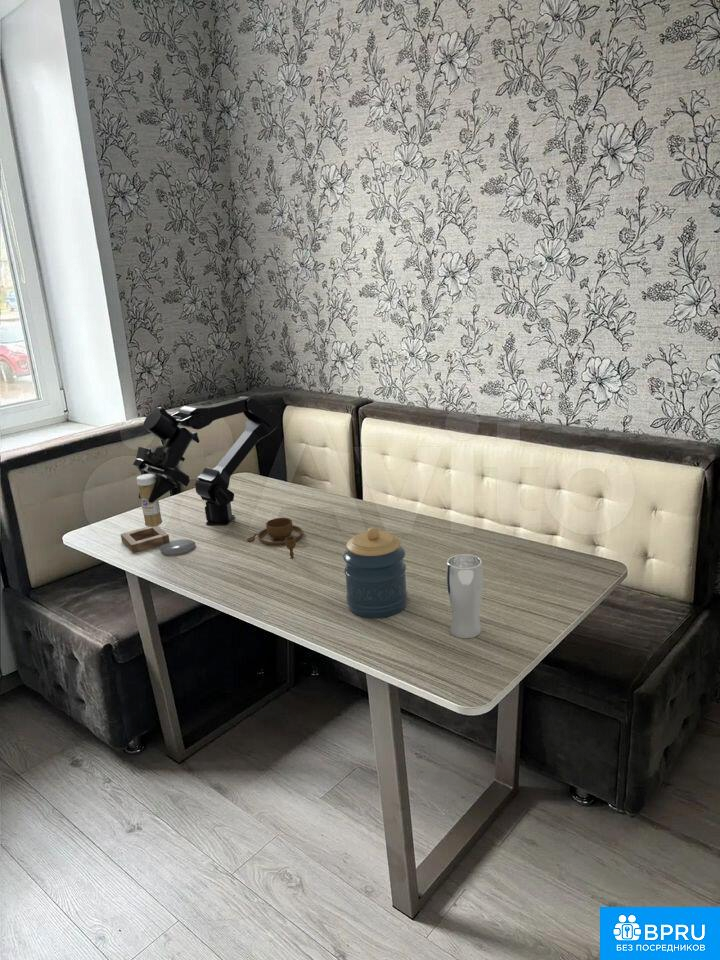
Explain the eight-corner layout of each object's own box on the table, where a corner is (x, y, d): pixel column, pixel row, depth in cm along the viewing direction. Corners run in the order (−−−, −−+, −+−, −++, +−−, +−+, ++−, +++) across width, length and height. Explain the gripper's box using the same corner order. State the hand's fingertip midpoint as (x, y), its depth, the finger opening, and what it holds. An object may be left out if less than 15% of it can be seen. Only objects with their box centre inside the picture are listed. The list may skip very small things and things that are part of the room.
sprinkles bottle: (142, 527, 192) (133, 479, 188) (149, 520, 196) (140, 473, 192) (159, 527, 191) (150, 478, 187) (165, 520, 196) (157, 472, 191)
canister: (372, 585, 166) (367, 512, 160) (419, 599, 158) (416, 523, 152) (334, 608, 156) (328, 532, 151) (382, 625, 148) (377, 545, 143)
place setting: (319, 531, 200) (317, 511, 198) (298, 562, 181) (296, 540, 179) (258, 530, 203) (255, 510, 201) (231, 560, 185) (228, 539, 183)
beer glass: (480, 620, 148) (479, 552, 143) (486, 638, 141) (486, 567, 136) (445, 623, 148) (443, 554, 143) (450, 641, 141) (448, 570, 136)
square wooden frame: (157, 531, 205) (156, 524, 205) (169, 542, 197) (168, 534, 197) (121, 541, 200) (120, 533, 200) (133, 552, 192) (131, 545, 192)
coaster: (200, 541, 197) (200, 539, 196) (187, 555, 188) (187, 553, 188) (168, 541, 198) (168, 539, 198) (154, 555, 190) (154, 553, 190)
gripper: (133, 428, 195) (102, 479, 191) (172, 438, 183) (140, 493, 179) (163, 449, 203) (134, 498, 199) (203, 459, 190) (173, 512, 187)
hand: (144, 500), depth 191 cm, fingers closed on sprinkles bottle, 4 cm apart
